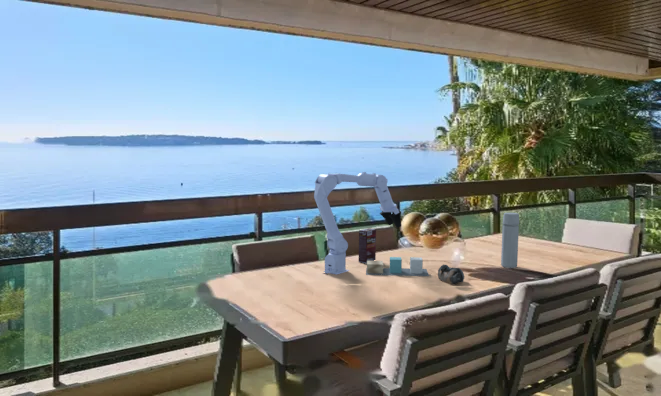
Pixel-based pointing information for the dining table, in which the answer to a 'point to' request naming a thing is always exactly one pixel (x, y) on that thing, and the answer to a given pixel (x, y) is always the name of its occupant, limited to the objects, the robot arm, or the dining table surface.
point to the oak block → (375, 267)
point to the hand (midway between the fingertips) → (395, 225)
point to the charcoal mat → (404, 273)
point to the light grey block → (416, 265)
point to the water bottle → (510, 240)
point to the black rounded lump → (450, 274)
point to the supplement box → (367, 245)
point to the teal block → (395, 265)
